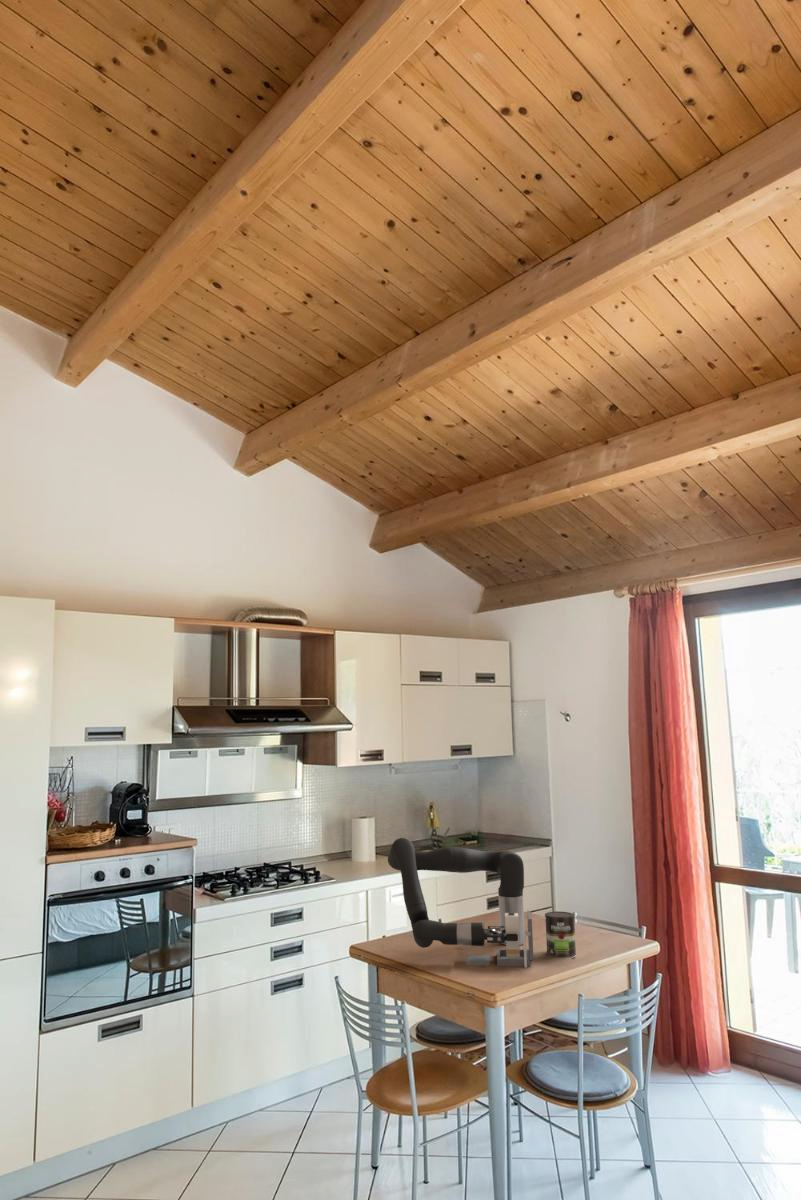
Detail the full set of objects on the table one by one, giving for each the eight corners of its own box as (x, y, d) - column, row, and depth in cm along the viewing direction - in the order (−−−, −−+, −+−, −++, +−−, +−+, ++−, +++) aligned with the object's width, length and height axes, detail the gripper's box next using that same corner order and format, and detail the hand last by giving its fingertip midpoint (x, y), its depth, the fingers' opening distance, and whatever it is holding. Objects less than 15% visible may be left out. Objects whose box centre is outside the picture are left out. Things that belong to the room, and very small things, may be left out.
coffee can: (577, 960, 283) (575, 917, 285) (547, 959, 284) (545, 917, 287) (575, 952, 293) (573, 911, 295) (546, 952, 294) (544, 911, 297)
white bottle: (506, 958, 283) (504, 910, 285) (519, 958, 282) (517, 910, 285) (506, 962, 278) (504, 913, 280) (520, 962, 277) (518, 913, 280)
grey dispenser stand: (497, 958, 287) (495, 910, 290) (532, 958, 286) (530, 910, 288) (497, 970, 272) (495, 919, 275) (534, 970, 271) (531, 920, 273)
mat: (467, 958, 287) (467, 955, 288) (490, 958, 287) (490, 955, 287) (465, 967, 276) (465, 964, 276) (489, 968, 275) (489, 965, 275)
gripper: (469, 927, 277) (517, 927, 275) (471, 918, 291) (516, 918, 289) (470, 950, 275) (518, 951, 274) (471, 940, 289) (517, 941, 287)
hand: (517, 934), depth 281 cm, fingers open, 8 cm apart
